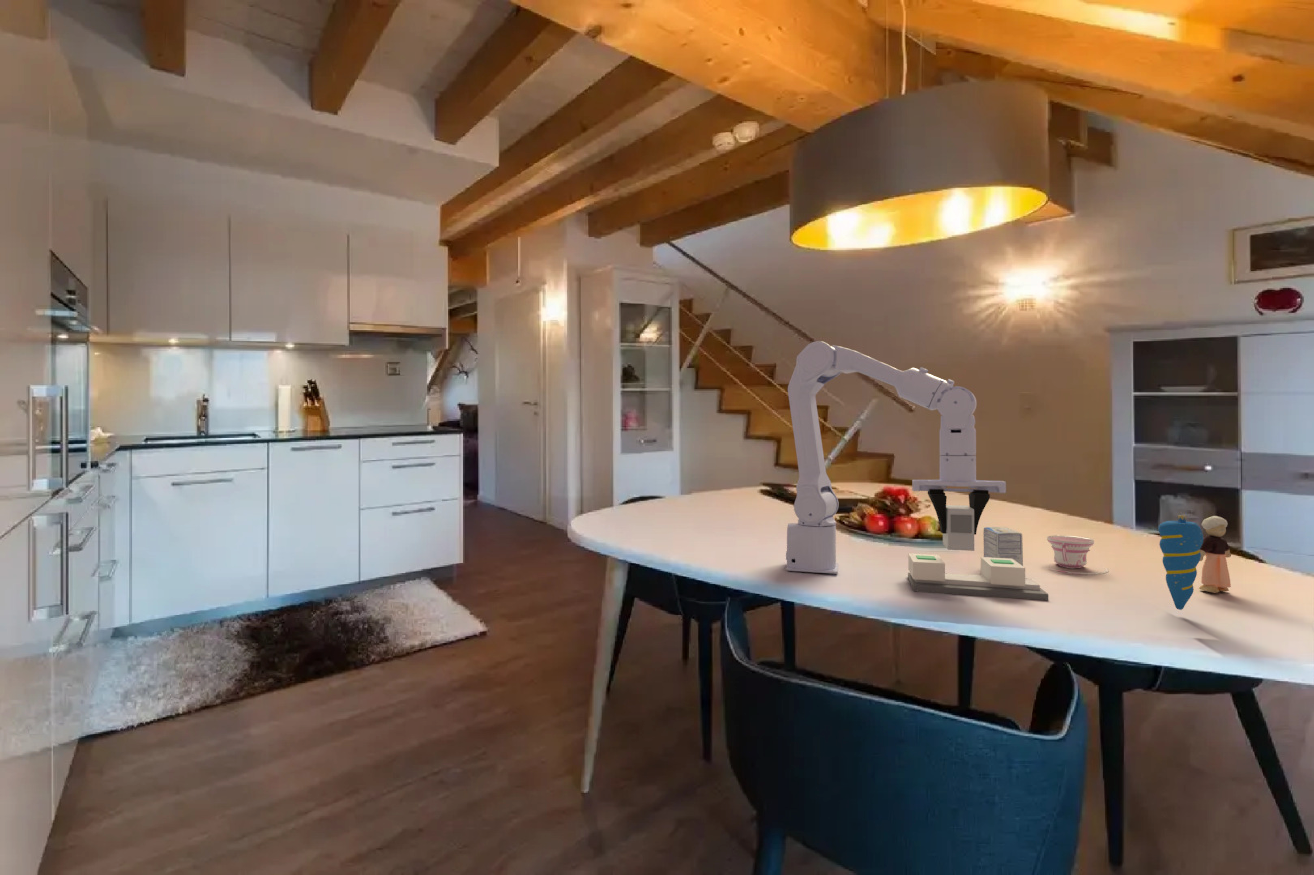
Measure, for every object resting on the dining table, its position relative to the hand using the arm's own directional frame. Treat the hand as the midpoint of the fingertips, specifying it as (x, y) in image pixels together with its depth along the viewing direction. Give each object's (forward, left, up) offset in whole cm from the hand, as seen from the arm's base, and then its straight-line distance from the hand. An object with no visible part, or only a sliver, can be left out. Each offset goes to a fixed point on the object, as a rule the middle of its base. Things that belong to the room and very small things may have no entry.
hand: (957, 533), depth 105 cm
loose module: (0, 0, -2) cm, 2 cm away
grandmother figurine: (+42, +11, -10) cm, 44 cm away
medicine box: (+10, +13, -10) cm, 19 cm away
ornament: (+30, -5, -10) cm, 32 cm away
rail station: (+1, 0, -10) cm, 10 cm away
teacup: (+24, +23, -10) cm, 35 cm away
